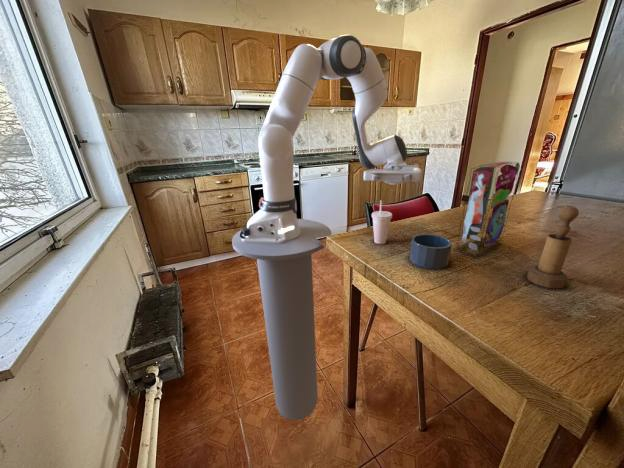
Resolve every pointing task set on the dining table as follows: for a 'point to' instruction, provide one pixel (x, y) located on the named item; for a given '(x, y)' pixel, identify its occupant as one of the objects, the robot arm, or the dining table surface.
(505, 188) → the box
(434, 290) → the dining table surface
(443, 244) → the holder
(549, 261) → the mortar and pestle
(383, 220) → the smoothie
